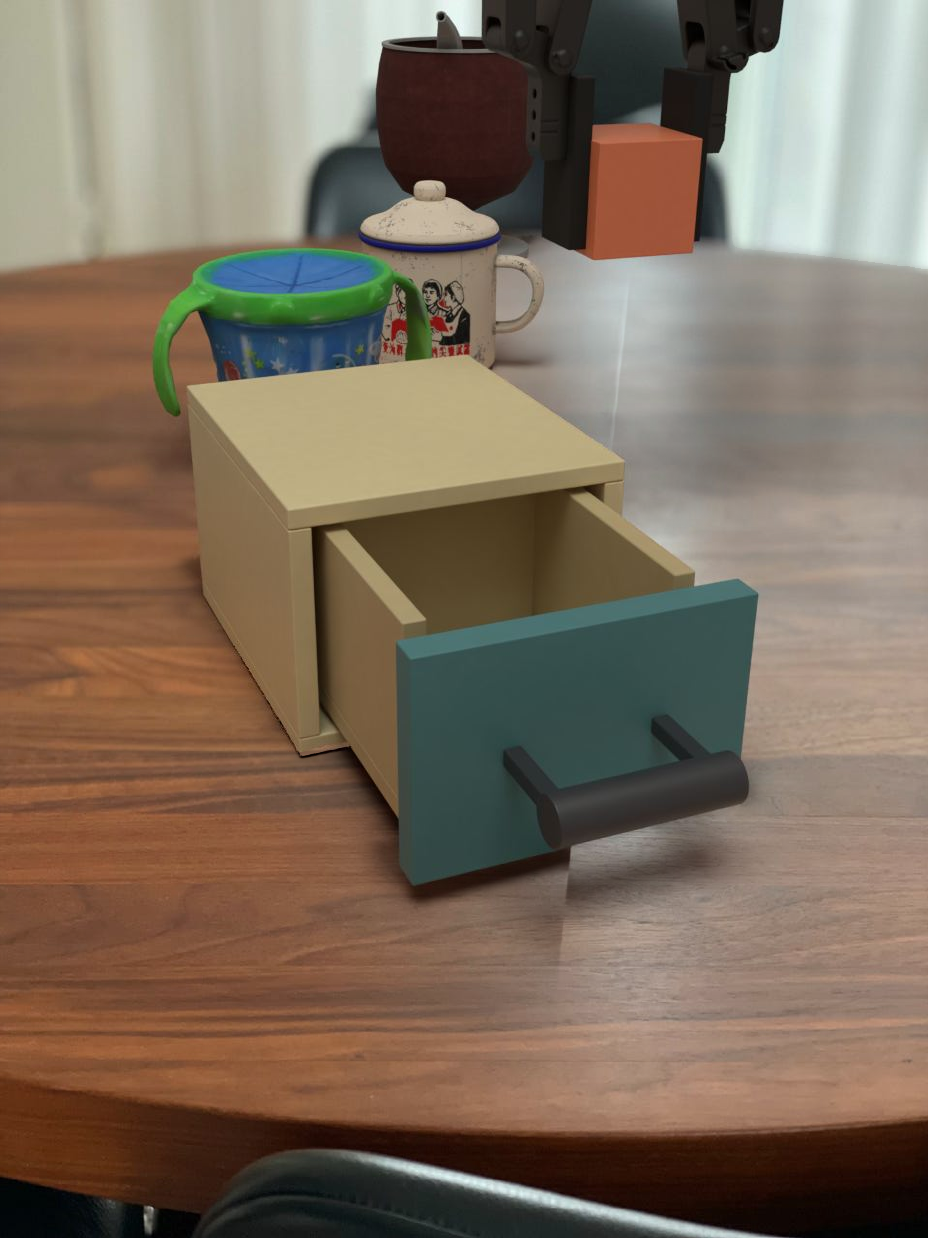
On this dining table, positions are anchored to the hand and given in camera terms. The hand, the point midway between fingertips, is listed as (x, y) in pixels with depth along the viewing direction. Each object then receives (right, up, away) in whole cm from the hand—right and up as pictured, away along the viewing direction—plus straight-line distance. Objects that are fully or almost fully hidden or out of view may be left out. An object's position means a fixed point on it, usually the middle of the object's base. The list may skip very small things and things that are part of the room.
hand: (620, 237), depth 60 cm
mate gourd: (-7, +16, +66) cm, 68 cm away
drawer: (-5, -21, -11) cm, 24 cm away
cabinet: (-9, -17, 0) cm, 19 cm away
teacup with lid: (-7, +1, +36) cm, 37 cm away
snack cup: (-16, -7, +21) cm, 27 cm away
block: (0, 0, 0) cm, 0 cm away
